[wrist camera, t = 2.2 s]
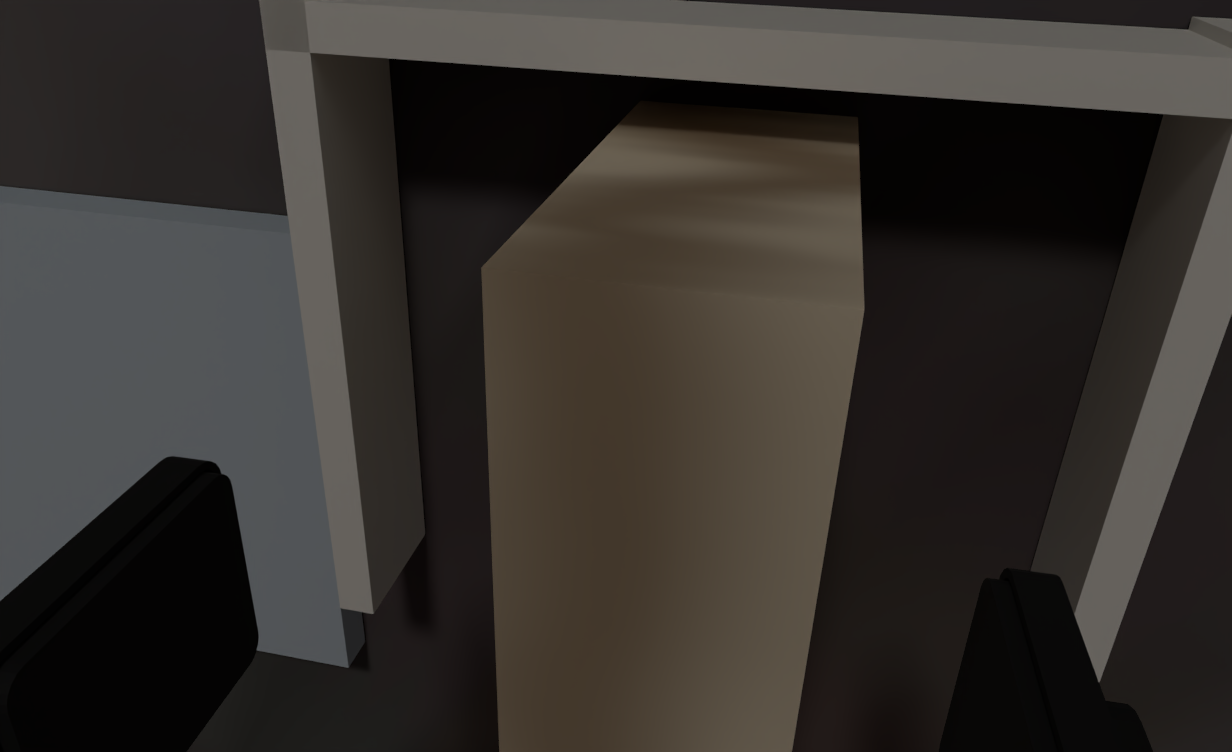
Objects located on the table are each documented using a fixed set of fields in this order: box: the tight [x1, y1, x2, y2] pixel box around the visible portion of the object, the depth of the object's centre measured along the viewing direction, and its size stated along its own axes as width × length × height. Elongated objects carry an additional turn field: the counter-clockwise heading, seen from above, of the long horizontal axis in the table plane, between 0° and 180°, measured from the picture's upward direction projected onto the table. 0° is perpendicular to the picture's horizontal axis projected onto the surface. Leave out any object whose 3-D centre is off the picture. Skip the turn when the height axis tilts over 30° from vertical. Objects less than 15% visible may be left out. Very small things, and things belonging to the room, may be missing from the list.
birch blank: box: [481, 101, 864, 752], centre depth 16 cm, size 4×8×9 cm, turn 178°
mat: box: [0, 186, 365, 668], centre depth 24 cm, size 12×12×1 cm
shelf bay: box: [259, 0, 1232, 682], centre depth 18 cm, size 16×13×3 cm
